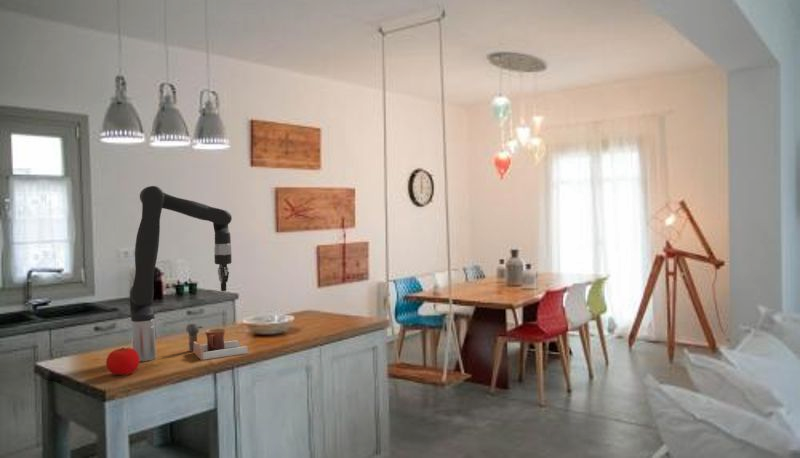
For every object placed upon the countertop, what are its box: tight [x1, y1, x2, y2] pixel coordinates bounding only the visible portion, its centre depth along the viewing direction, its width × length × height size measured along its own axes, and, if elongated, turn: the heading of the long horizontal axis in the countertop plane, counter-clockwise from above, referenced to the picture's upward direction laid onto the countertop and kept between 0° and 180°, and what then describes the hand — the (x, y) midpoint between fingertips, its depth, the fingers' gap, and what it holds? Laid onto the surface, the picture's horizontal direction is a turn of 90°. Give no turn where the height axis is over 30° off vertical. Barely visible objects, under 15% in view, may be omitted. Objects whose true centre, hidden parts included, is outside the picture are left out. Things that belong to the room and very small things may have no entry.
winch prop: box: [185, 322, 203, 353], centre depth 271 cm, size 7×4×12 cm, turn 120°
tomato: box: [105, 347, 141, 376], centre depth 234 cm, size 11×12×10 cm
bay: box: [193, 339, 249, 361], centre depth 265 cm, size 20×16×5 cm
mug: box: [204, 328, 226, 352], centre depth 263 cm, size 12×9×10 cm
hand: (223, 290), depth 274 cm, fingers closed
